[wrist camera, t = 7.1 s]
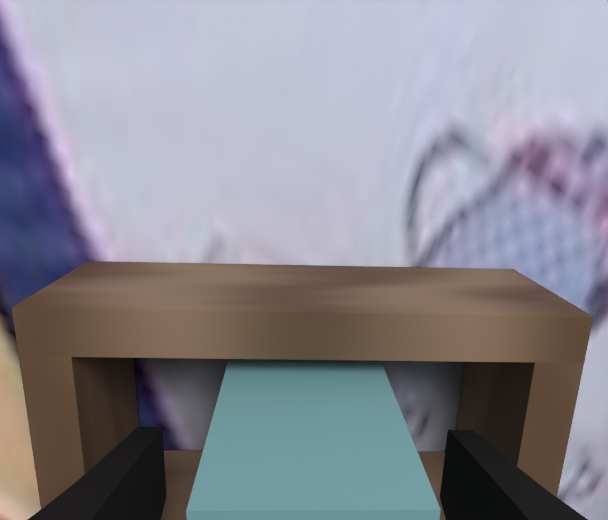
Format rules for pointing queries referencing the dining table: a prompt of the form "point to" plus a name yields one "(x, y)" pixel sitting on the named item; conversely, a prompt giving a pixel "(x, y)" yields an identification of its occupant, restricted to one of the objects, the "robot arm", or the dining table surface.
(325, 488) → the teal post
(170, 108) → the dining table surface
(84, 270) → the walnut slot holder
